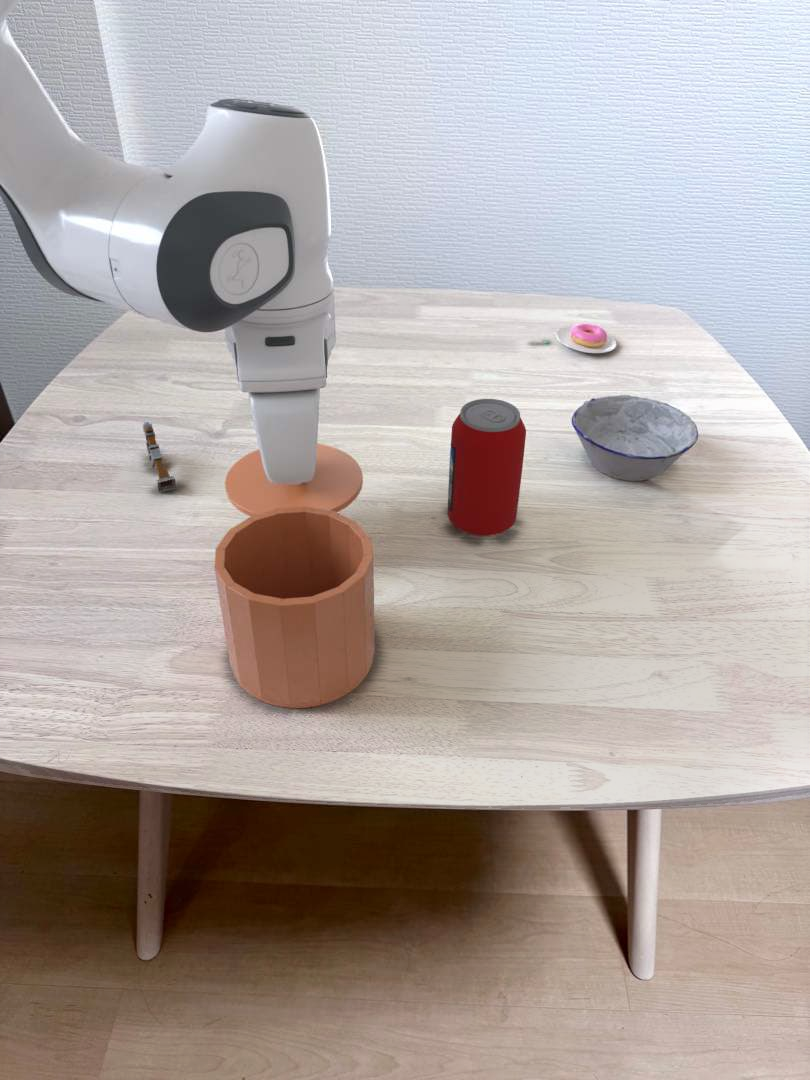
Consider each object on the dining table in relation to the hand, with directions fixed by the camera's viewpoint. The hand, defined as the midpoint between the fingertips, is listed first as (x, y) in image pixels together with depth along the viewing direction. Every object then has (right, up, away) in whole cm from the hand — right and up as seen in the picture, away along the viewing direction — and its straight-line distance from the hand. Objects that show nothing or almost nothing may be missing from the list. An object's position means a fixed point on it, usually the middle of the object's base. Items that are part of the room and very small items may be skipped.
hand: (292, 469), depth 76 cm
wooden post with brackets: (-16, 0, +13) cm, 20 cm away
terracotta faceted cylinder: (+2, -16, -8) cm, 18 cm away
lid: (0, -1, +1) cm, 2 cm away
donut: (+33, +20, +39) cm, 55 cm away
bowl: (+34, +2, +16) cm, 38 cm away
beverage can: (+18, -5, +7) cm, 19 cm away
